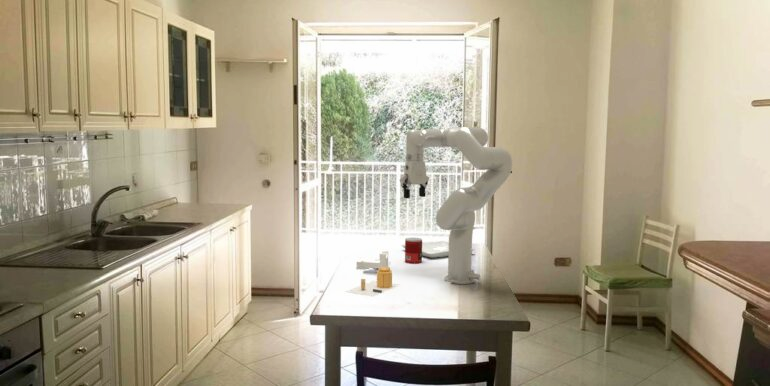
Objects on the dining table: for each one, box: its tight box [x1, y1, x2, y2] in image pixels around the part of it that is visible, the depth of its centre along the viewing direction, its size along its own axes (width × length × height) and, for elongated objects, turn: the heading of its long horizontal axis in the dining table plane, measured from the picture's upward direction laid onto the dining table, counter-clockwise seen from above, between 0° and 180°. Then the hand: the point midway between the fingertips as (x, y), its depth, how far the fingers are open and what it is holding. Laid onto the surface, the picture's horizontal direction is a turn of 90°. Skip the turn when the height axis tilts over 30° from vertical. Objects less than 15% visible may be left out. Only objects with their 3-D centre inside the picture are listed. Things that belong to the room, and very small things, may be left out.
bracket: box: [356, 250, 389, 270], centre depth 276 cm, size 13×7×8 cm, turn 80°
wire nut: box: [376, 266, 393, 288], centre depth 238 cm, size 6×6×7 cm
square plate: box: [401, 240, 475, 259], centre depth 312 cm, size 27×27×4 cm
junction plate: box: [345, 278, 399, 297], centre depth 235 cm, size 12×20×6 cm, turn 150°
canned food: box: [404, 237, 423, 265], centre depth 289 cm, size 8×8×11 cm
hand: (414, 197), depth 269 cm, fingers open, 9 cm apart
